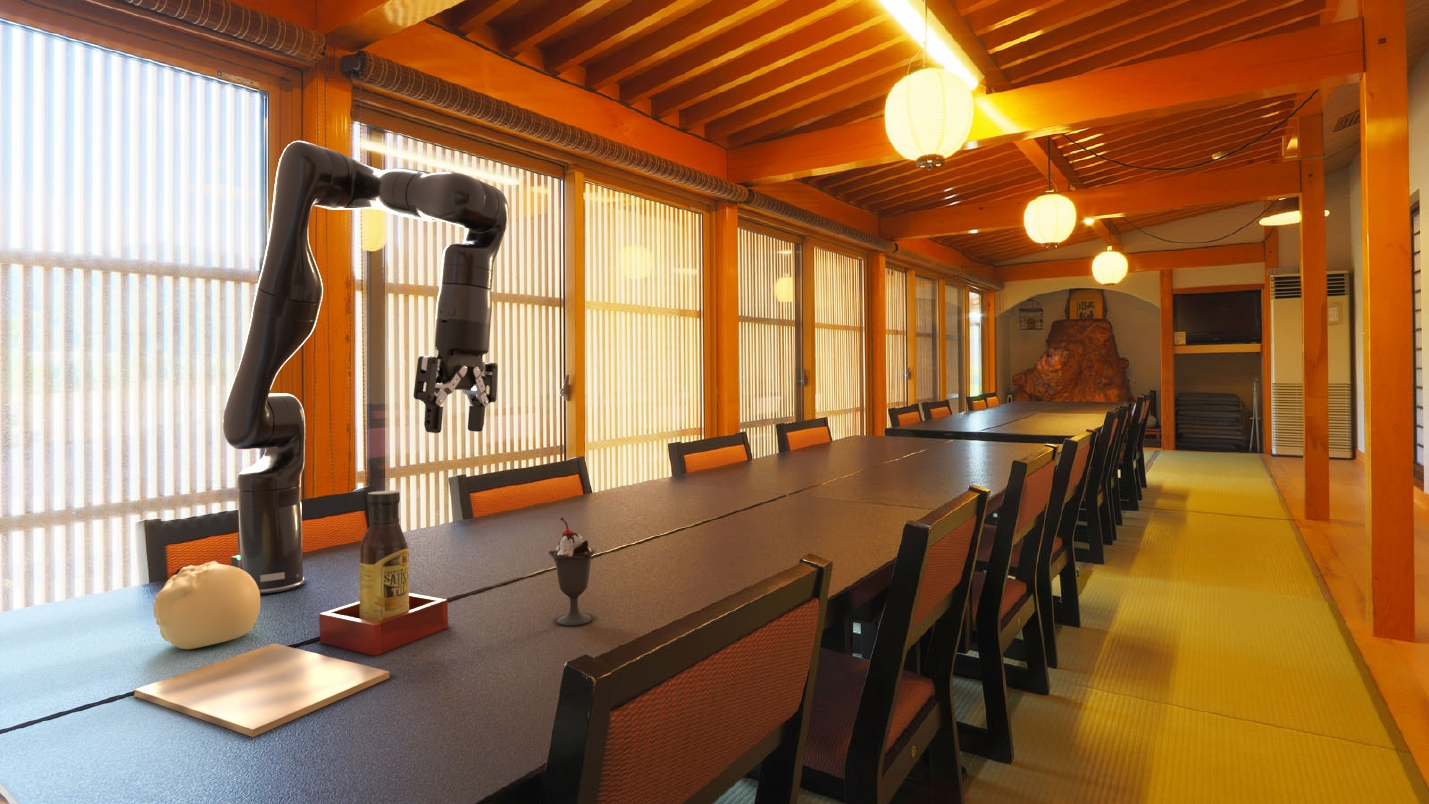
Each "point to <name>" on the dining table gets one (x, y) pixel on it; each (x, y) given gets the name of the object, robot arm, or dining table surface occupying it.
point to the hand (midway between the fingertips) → (454, 431)
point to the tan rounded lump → (207, 605)
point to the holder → (383, 626)
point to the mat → (261, 688)
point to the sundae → (572, 573)
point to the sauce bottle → (383, 560)
